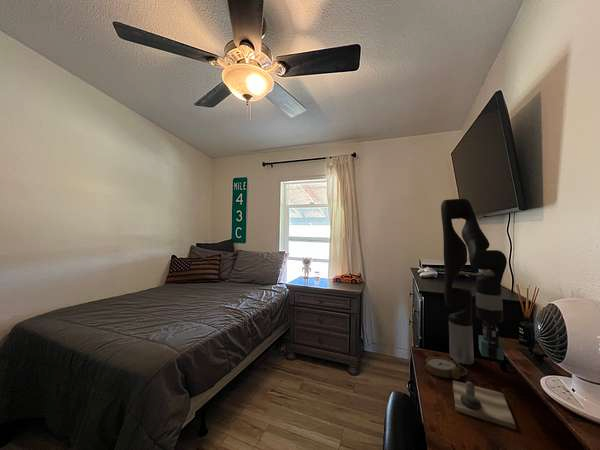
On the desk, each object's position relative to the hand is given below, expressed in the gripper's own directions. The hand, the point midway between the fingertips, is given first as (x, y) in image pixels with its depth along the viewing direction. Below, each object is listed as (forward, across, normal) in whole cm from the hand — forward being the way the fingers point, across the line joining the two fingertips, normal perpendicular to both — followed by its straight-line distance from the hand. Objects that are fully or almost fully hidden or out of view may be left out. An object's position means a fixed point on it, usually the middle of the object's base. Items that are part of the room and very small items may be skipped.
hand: (490, 353), depth 83 cm
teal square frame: (0, 0, 0) cm, 0 cm away
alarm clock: (+17, -12, -14) cm, 25 cm away
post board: (+16, +4, -4) cm, 17 cm away
